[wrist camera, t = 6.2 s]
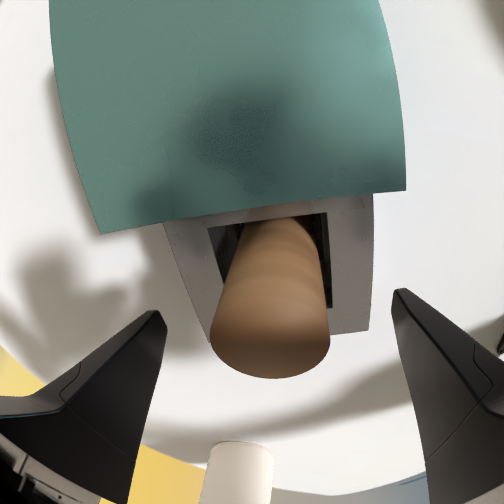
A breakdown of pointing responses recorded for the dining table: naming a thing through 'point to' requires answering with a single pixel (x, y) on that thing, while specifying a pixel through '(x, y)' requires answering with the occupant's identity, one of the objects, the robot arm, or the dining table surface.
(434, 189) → the dining table surface
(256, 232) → the peg
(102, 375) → the robot arm
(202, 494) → the alcohol
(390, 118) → the station
